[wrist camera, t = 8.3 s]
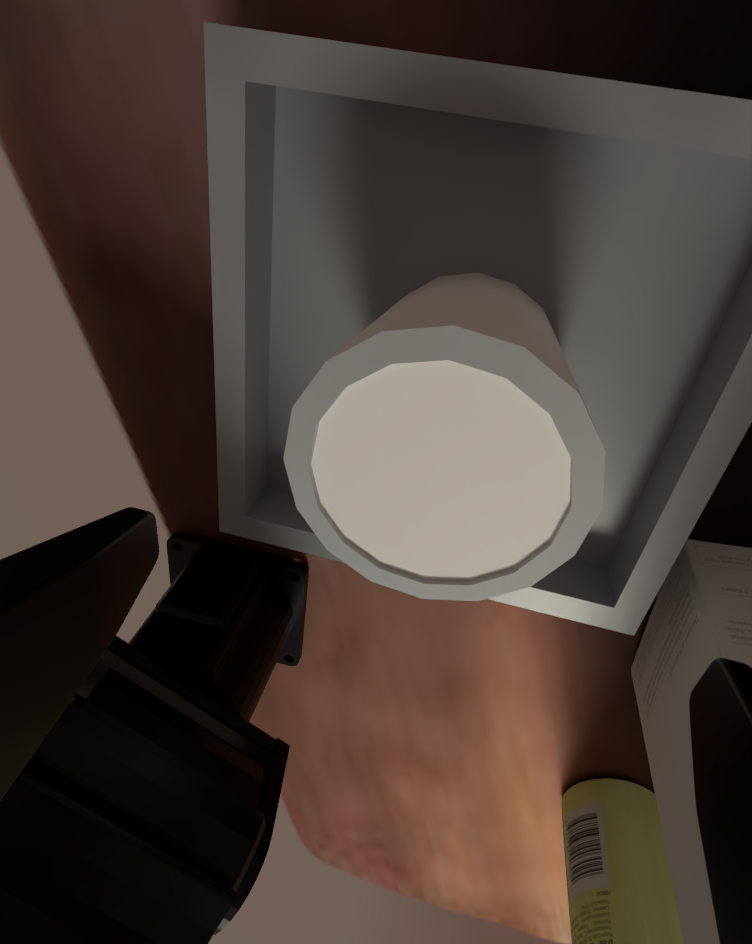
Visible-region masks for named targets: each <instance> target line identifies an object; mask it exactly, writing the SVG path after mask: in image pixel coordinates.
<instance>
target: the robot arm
mask: <svg viewBox="0 0 752 944" xmlns="http://www.w3.org/2000/svg"><path fill="white" fill-rule="evenodd" d="M179 543H180V544H181V545H180V544H179ZM167 552H168V563H169V573H170V583H171V586H170V587H169V588H168V590H167V591H166V592H165V594H164V595H163V596H162V598H161V599H160V600H159V602H158V603H157V605H156V607H155V609H154V610H153V611H152V613H151V614H150V615H149V617H148V618H147V619H146V621H145V622H144V623H143V624H142V626H141V627H140V628H139V630H138V631H137V633H136V634H135V635H134V636H133V638H132V639H131V640H130V642H129V643H127V642H125V641H124V640H122V639H121V638H119V637H117V636H116V634H117V632H118V631H119V629H120V627H121V625H122V624H123V622H124V620H125V618H126V616H127V615H128V613H129V611H130V609H131V607H132V605H133V604H134V602H135V600H136V598H137V596H138V595H139V592H140V591H141V589H142V587H143V585H144V583H145V582H146V580H147V578H148V576H149V575H150V573H151V571H152V569H153V567H154V565H155V564H156V561H157V559H158V555H159V544H158V535H157V526H156V519H155V516H154V515H153V513H151V512H148V511H145V510H141V509H137V508H131V507H129V508H125V509H123V510H120V511H118V512H115V513H113V514H111V515H108V516H106V517H103V518H101V519H98V520H96V521H93V522H91V523H89V524H86V525H84V526H81V527H79V528H76V529H74V530H71V531H69V532H67V533H64V534H62V535H59V536H57V537H54V538H52V539H49V540H47V541H45V542H42V543H40V544H37V545H35V546H32V547H30V548H27V549H25V550H23V551H20V552H18V553H15V554H13V555H10V556H8V557H5V558H3V559H1V560H0V944H208V942H209V941H210V939H211V937H212V935H215V934H217V933H218V932H220V931H221V930H222V929H223V928H224V927H225V926H226V925H227V924H228V923H229V922H230V921H231V920H232V918H233V917H234V916H235V914H236V913H237V912H238V910H239V909H240V907H241V906H242V904H243V903H244V901H245V899H246V897H247V896H248V894H249V892H250V891H251V889H252V887H253V885H254V883H255V881H256V879H257V877H258V875H259V872H260V870H261V867H262V865H263V863H264V860H265V857H266V855H267V852H268V849H269V845H270V841H271V837H272V832H273V828H274V822H275V818H276V812H277V807H278V802H279V797H280V792H281V787H282V782H283V777H284V772H285V767H286V762H287V757H288V752H289V747H290V746H289V745H288V744H287V743H285V742H284V741H282V740H280V739H279V738H277V739H274V738H273V737H271V736H270V735H268V734H267V733H265V732H264V731H262V730H261V729H259V728H257V727H256V726H254V725H253V724H251V723H250V722H249V721H250V719H251V717H252V715H253V712H254V710H255V708H256V706H257V704H258V702H259V699H260V697H261V695H262V693H263V691H264V688H265V686H266V684H267V682H268V680H269V678H270V675H271V673H272V671H273V669H274V667H275V664H276V662H278V663H281V664H285V665H289V666H296V665H297V664H298V663H299V660H300V658H301V655H302V644H303V632H304V620H305V608H306V596H307V584H308V570H307V568H306V567H305V566H304V565H303V564H301V563H299V562H295V561H291V560H287V559H283V558H279V557H275V556H271V555H267V554H263V553H260V552H256V551H252V550H248V549H244V548H240V547H236V546H232V545H228V544H224V543H220V542H216V541H212V540H208V539H205V538H201V537H197V536H193V535H189V534H185V533H181V532H176V533H173V534H172V536H171V537H170V538H169V539H168V540H167ZM293 572H295V573H297V574H298V575H296V574H294V573H293ZM689 714H690V730H691V746H692V761H693V777H694V792H695V802H696V810H697V817H698V824H699V829H700V835H701V841H702V846H703V852H704V858H705V863H706V869H707V874H708V880H709V886H710V891H711V897H712V903H713V908H714V914H715V920H716V925H717V931H718V937H719V942H720V944H752V668H751V667H750V666H748V665H747V664H744V663H741V662H737V661H733V660H730V659H726V658H716V659H715V660H713V661H712V662H711V663H710V665H709V666H708V668H707V669H706V671H705V672H704V674H703V675H702V676H701V678H700V679H699V681H698V682H697V684H696V685H695V687H694V688H693V690H692V692H691V695H690V699H689Z"/></svg>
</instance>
